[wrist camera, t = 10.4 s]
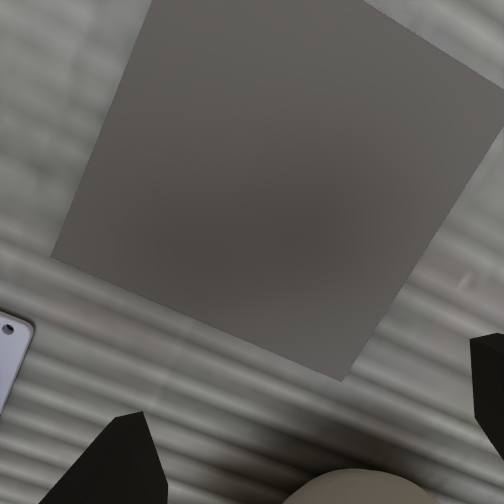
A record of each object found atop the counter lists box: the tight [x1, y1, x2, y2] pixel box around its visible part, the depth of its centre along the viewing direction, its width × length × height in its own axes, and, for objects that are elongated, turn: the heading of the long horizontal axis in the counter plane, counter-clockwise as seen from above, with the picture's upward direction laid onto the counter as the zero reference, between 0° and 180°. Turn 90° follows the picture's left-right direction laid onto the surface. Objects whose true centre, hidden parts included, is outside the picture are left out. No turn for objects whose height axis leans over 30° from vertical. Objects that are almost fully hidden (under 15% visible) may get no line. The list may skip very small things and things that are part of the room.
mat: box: [51, 0, 504, 382], centre depth 17 cm, size 15×15×1 cm
